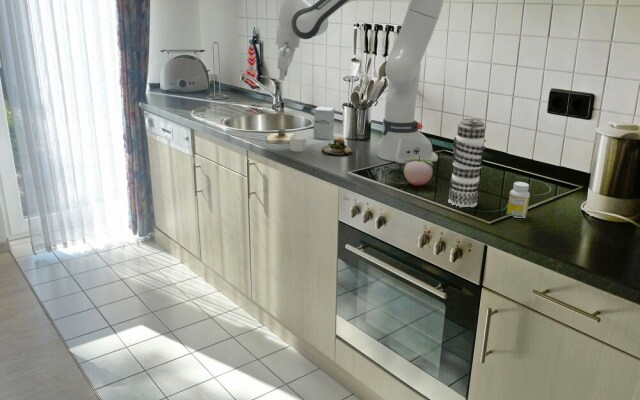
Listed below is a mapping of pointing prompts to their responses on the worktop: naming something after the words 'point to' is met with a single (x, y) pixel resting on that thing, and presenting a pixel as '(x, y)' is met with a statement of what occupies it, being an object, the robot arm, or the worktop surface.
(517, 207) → the supplement bottle
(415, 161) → the decorative fruit
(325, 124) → the supplement box
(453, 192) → the decorative candle
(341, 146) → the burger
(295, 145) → the cap
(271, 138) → the stud board
